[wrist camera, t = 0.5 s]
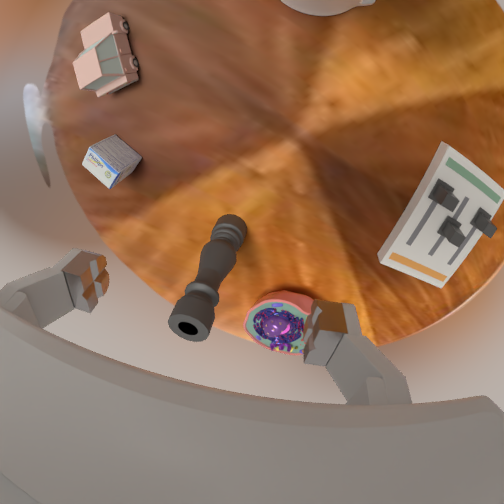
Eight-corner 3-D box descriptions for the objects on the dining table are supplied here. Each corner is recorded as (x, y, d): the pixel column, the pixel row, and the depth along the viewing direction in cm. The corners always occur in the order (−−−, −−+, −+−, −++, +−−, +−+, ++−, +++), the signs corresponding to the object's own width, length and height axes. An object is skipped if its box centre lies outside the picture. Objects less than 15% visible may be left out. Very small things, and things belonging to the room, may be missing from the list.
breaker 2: (480, 206, 38) (489, 217, 35) (491, 215, 38) (500, 226, 35) (469, 223, 40) (478, 234, 37) (481, 231, 40) (489, 242, 37)
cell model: (284, 337, 72) (279, 373, 63) (235, 291, 65) (223, 328, 56) (340, 316, 64) (342, 354, 55) (296, 260, 57) (292, 300, 48)
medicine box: (107, 149, 48) (80, 164, 41) (116, 133, 46) (88, 146, 39) (133, 172, 51) (109, 190, 44) (143, 156, 48) (118, 173, 41)
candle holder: (252, 234, 55) (220, 339, 35) (227, 245, 57) (186, 345, 38) (236, 209, 52) (190, 308, 32) (210, 221, 55) (157, 317, 35)
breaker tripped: (447, 215, 41) (456, 226, 37) (461, 223, 41) (469, 235, 38) (437, 232, 43) (444, 244, 40) (450, 239, 43) (458, 252, 40)
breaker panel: (441, 140, 36) (449, 145, 34) (499, 186, 37) (507, 192, 34) (377, 253, 52) (379, 263, 50) (437, 279, 53) (441, 288, 50)
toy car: (130, 10, 31) (96, 4, 23) (148, 77, 39) (115, 82, 31) (92, 33, 33) (57, 34, 25) (109, 96, 41) (75, 106, 34)
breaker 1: (438, 178, 37) (448, 187, 34) (454, 188, 37) (463, 198, 34) (427, 197, 40) (436, 207, 37) (443, 206, 40) (452, 217, 37)
